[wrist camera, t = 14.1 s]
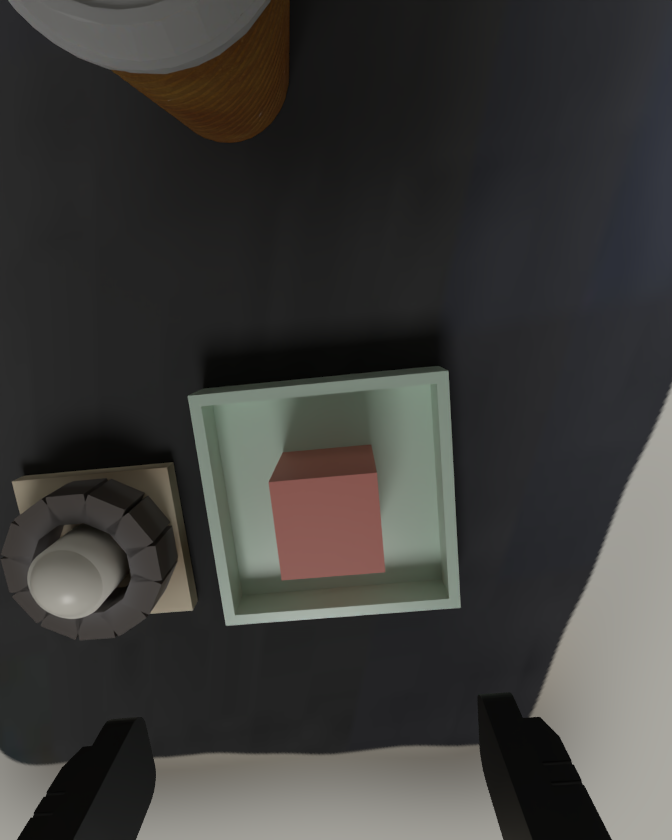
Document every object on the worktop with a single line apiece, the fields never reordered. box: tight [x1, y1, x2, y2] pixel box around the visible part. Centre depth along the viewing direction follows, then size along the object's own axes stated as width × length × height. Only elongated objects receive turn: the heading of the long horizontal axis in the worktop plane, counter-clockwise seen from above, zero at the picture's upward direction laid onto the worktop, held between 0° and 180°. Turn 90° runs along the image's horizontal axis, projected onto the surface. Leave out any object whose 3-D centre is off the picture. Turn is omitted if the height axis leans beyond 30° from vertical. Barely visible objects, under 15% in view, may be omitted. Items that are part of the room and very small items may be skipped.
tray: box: [188, 366, 461, 626], centre depth 26 cm, size 13×13×3 cm
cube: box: [269, 445, 385, 580], centre depth 25 cm, size 5×5×5 cm
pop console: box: [1, 462, 198, 640], centre depth 27 cm, size 9×9×4 cm
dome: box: [27, 523, 130, 619], centre depth 25 cm, size 4×4×4 cm
